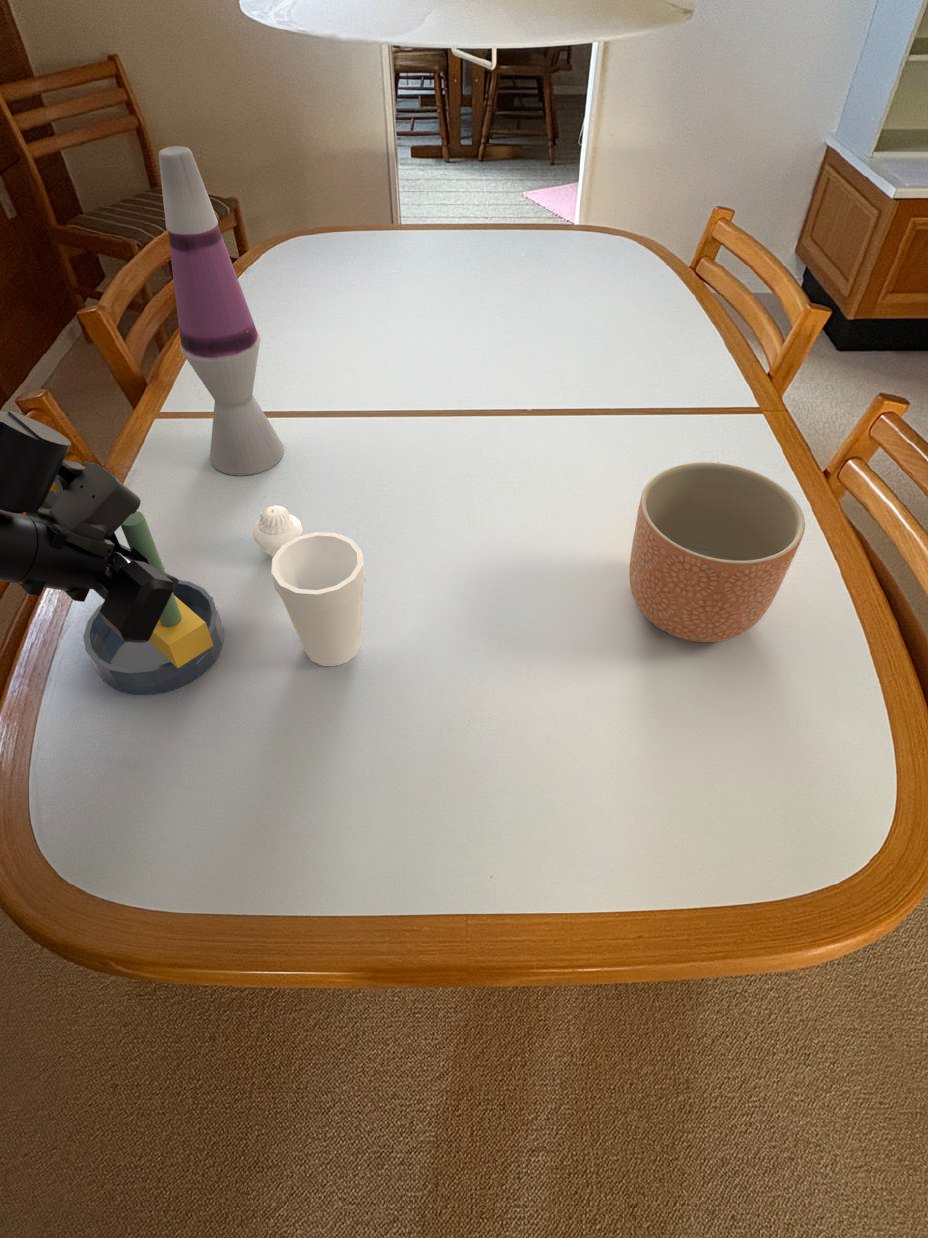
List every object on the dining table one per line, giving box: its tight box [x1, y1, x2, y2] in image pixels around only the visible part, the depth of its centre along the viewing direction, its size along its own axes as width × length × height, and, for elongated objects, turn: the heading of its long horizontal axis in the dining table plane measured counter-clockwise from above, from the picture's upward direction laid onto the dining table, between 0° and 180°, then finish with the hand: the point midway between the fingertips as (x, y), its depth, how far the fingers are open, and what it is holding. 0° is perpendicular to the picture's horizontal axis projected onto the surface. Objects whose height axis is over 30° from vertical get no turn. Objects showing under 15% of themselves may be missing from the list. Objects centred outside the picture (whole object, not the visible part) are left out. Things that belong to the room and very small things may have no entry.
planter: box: [628, 461, 806, 643], centre depth 89 cm, size 17×17×15 cm
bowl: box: [82, 579, 225, 696], centre depth 89 cm, size 14×14×4 cm
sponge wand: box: [120, 510, 213, 668], centre depth 78 cm, size 4×6×17 cm
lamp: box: [158, 145, 285, 477], centre depth 101 cm, size 11×11×40 cm
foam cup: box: [270, 531, 366, 667], centre depth 85 cm, size 10×9×13 cm
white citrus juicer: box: [252, 505, 304, 558], centre depth 98 cm, size 6×6×7 cm
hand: (169, 577), depth 78 cm, fingers closed on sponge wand, 2 cm apart
